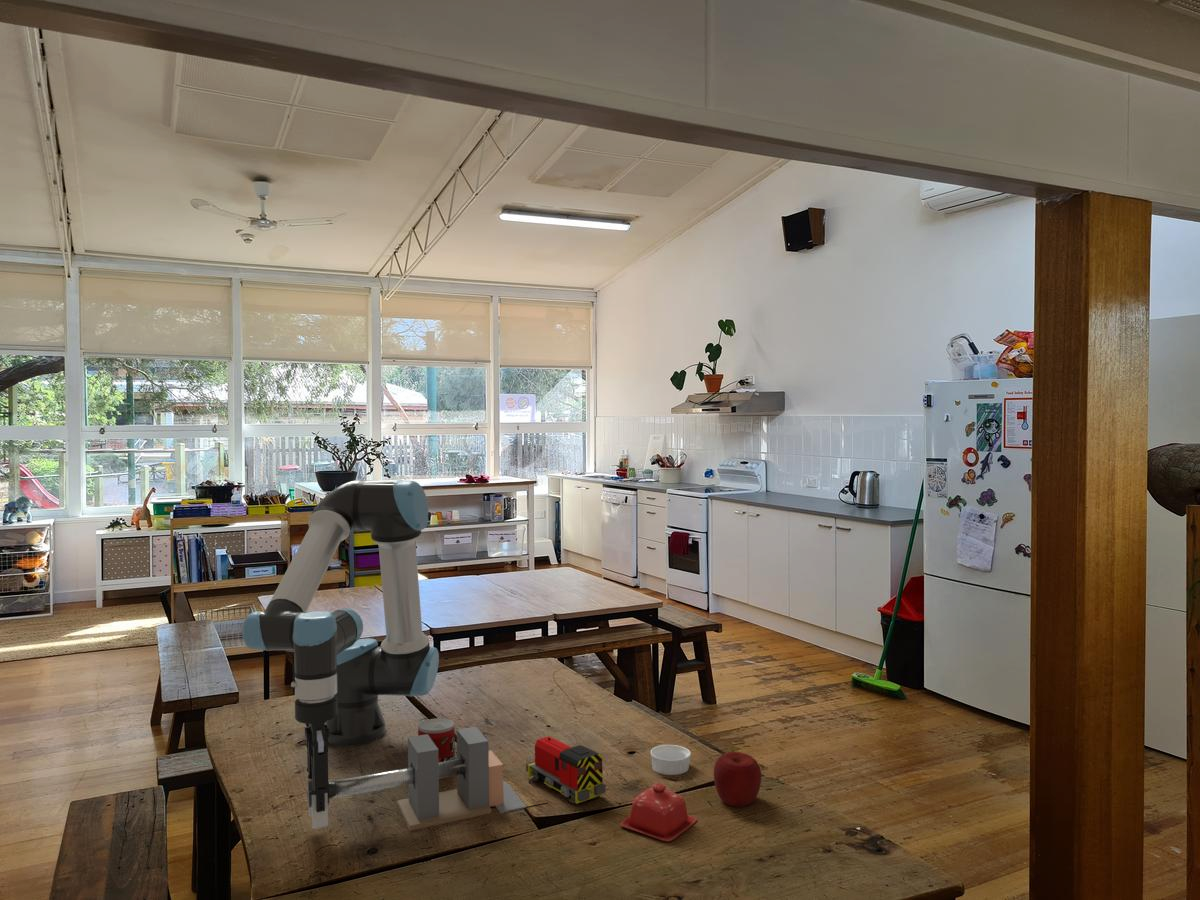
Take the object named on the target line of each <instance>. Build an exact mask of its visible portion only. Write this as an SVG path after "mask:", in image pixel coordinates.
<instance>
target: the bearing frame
mask: <svg viewBox="0 0 1200 900" xmlns="http://www.w3.org/2000/svg"><path fill="white" fill-rule="evenodd" d="M489 751H490V750H489V740H488V739H487V737H485V735H484V734H483V733H482V732H481V730H480V729H479V728H478V727H476V726H470V727H464V728H458V729H456V759H462V758H464V759H465V764H466V774H462V775H457V776H456V778H457V779H456V780H457V781H456V785H457V787H456V788H454V789H449V790H444V791H440V786H439V784H440V783H439V782H440V779H439V762H438V748H437V747H436V745H435V744H434V743H433V741H432V740H431V738H430V737H429V735H428V734H425V735H419V736H418V735H414V736H408V737H407V768H411V767H414V768H415V783H413V784H408V787H407V788H408V792H407V793H408V798H407V797H406V798H403V799H402V798H401V799H397V801H396V806H397V808H398V809H399V812H400V814H401V816H402V818H403V821H404V822H405V824H406V826H407V828H408V830H409V832H410V831H415V830H419V829H423V828H428V827H434V826H438V825H443V824H448V823H452V822H456V821H457V822H458V821H461V820H466V819H470V818H475V817H479V816H486V815H488V814H492V808H491V807H489Z"/></svg>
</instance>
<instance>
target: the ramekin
mask: <svg viewBox="0 0 1200 900" xmlns="http://www.w3.org/2000/svg"><path fill="white" fill-rule="evenodd" d="M691 756H692V752H691V751H690V750H689V749H688V748H686V747H684V746H681V745H676V744H660V745H657V746H655V747H653V748H651V750H650V757H651V767H652V770H653V771H654V772H655V773H658V774H661V775H667V776H676V775H681V774H684V773H687V772H688V771H689V768H690V760H691Z"/></svg>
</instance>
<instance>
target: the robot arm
mask: <svg viewBox="0 0 1200 900" xmlns="http://www.w3.org/2000/svg"><path fill="white" fill-rule="evenodd" d="M429 512H430V511H429V504H428V499H427V495H426V493H425V490H424V488H423V486H421V484H420V483H419V482H417V481H415V480H403V479H375V480H364V479H356V480H351V481H348V482H345V483H343V484H341V485H339V486H337V487H336V488H334V489H333V490H331V491H330V492H328V494H326V495H325V496H324V497H323V498H322V499H321V500H320V501H319V502H318V503H317V505H316V506H314V509H313V510H312V513H311V514H310V516H309V518H308V530H307V531H306V533H305V535H304V537H303V538H302V541H301V542H300V545H299V547H298V548H297V550H296V552H295V554H294V556H293V558H292V560H291V561H290V563H289V565H288V567H287V569H286V571H285V573H284V574H283V576H282V578H281V580H280V582H279V583H278V586H277V588H276V589H275V592H274V593H273V596H272V597H271V599H270V601H269V602H268V604H267V606H266V608H265V609H264V610H258V611H253V612H251V613H250V614H248V615H246V618H245V619H244V621H243V625H242V632H241V633H242V640H243V642H244V645H245V646H246V647H247V648H249V649H251V650H257V651H265V652H266V651H267V652H270V651H293V663H294V674H293V675H294V681H292V682H291V683H290V687H292V688H294V698H295V699H296V700H295V701H294V718H295V720H296V722H298V723H301V724H303V725H304V724H305V727H304V736H305V745H306V757H307V758H306V761H307V762H306V763H307V768H306V771H307V773H308V774H307V778H308V780H312V783H313V790H312V791H310V792H309V796H310V795H312V807H311V808H309V807H308V817H311V824H312V826H311V828H312V830H316V829H320V828H321V829H322V828H326V827H329V811H328V807H329V804H328V795H327V793H328V792H329V785H328V782H329V745H330V746H335V747H354V746H359V745H360V746H361V745H365V744H368V743H369V744H370V743H373V742H375V741H377V740H379V739H381V738H382V737H383V736H385V734H386V732H387V730H386V728H387V726H386V721H385V718H384V716H383V712H382V710H381V706H380V704H379V696H402V697H404V696H405V697H410V698H411V697H417V696H418V697H419V696H420V697H421V696H423V697H424V696H426V695H427V694H429V693H430V692H431V690H432V689H433V687H434V685H435V682H436V678H437V674H438V669H439V661H440V658H439V657H440V654H439V650H438V648H437V647H434V646H430V638H429V636H427V635H426V634H425V633H423V624H422V613H421V612H422V611H421V600H420V599H421V598H420V586H419V585H420V584H419V571H418V559H417V557H418V556H417V546H416V545H417V542H416V541H417V540H418V539H419V538H420V537H421V536H422V531H423V530H424V529H425V528H426V527H427V525H428V522H429V516H428V515H429ZM355 530H366V531H368V530H369V531H370V536H371V537H370V538H371V540H372V542H374V543H375V544H376V545H378V551H379V552H378V553H379V564H380V565H379V566H380V577H381V578H380V579H381V587H382V589H381V590H382V601H383V610H384V611H383V612H384V627H385V635H386V636H385V638H384V640H382V641H381V644H380V646H378V645H379V643H378V640H377V639H375V638H371V637H370V638H368V637H367V638H361V636H362V635H363V632H364V623H363V619H362V617H361V616H360V615H359V614H358V612H356V611H355V610H353V609H350V608H341V609H337V610H334V611H333V612H330V611H322V610H320V611H311V612H308V609H309V608H310V606H311V603H312V601H313V599H314V597H315V596H316V593H317V592H318V589H319V587H320V585H321V583H322V581H323V578H325V575H326V572H327V570H328V569H329V565H330V564H331V562H332V560H333V558H334V556H335V554H336V553H337V550H338V548H339V545H340V544H341V542H343V541H344V540H346V539H347V538H348V537H349V535H350V534H351V532H352V531H353V532H354V531H355Z"/></svg>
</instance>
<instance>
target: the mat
mask: <svg viewBox="0 0 1200 900" xmlns="http://www.w3.org/2000/svg"><path fill="white" fill-rule="evenodd" d="M504 780H505V779H503V793H504V804H501V805H496V806H494V807H495V808H496V810H497V811H498V812H499V814H504V812H505V813H508V812H513V811H517V810H522V809H526V807H527V806H526V805H525V804H524V803H523V802H522V801H521V800H520V799H519V797H518V796H517V795H516V793H515V792H514V791H513V789H512V788H511V786H510V785H509V784H507V783H506V782H505V781H504Z"/></svg>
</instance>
